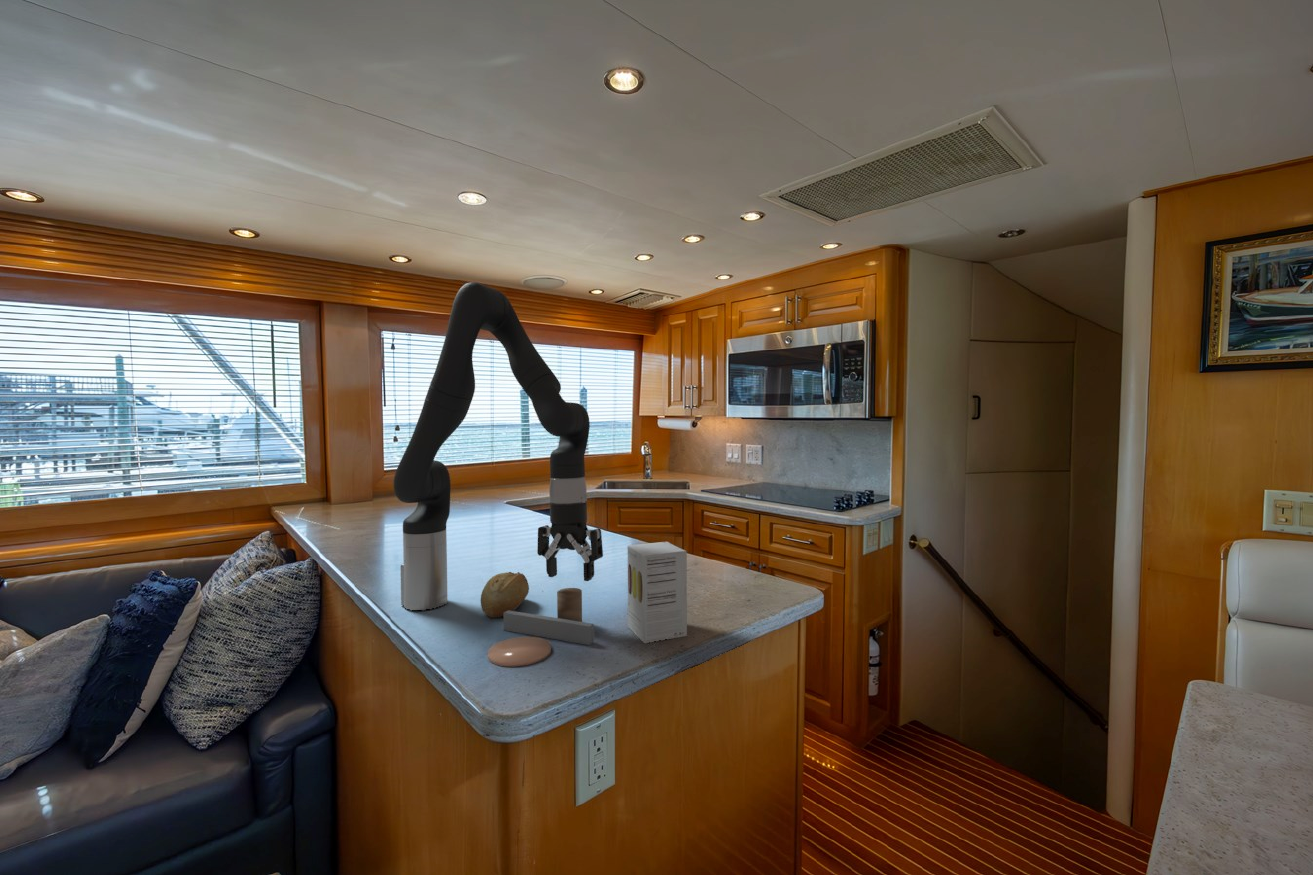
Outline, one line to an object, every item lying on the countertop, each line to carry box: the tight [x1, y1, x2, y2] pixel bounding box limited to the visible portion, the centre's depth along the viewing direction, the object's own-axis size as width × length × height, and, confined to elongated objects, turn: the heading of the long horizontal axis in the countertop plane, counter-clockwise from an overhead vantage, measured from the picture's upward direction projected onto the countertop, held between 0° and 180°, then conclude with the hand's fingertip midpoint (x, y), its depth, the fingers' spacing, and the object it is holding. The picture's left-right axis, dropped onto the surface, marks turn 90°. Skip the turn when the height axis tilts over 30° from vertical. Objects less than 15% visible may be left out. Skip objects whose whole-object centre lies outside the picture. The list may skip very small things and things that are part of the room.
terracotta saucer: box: [487, 636, 552, 668], centre depth 96 cm, size 11×11×1 cm
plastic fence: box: [502, 610, 595, 646], centre depth 104 cm, size 20×2×4 cm, turn 67°
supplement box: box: [627, 541, 688, 644], centre depth 105 cm, size 10×9×17 cm
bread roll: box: [480, 571, 530, 619], centre depth 120 cm, size 10×15×8 cm, turn 178°
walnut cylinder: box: [556, 587, 583, 622], centre depth 109 cm, size 5×5×7 cm
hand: (570, 578), depth 109 cm, fingers open, 8 cm apart
